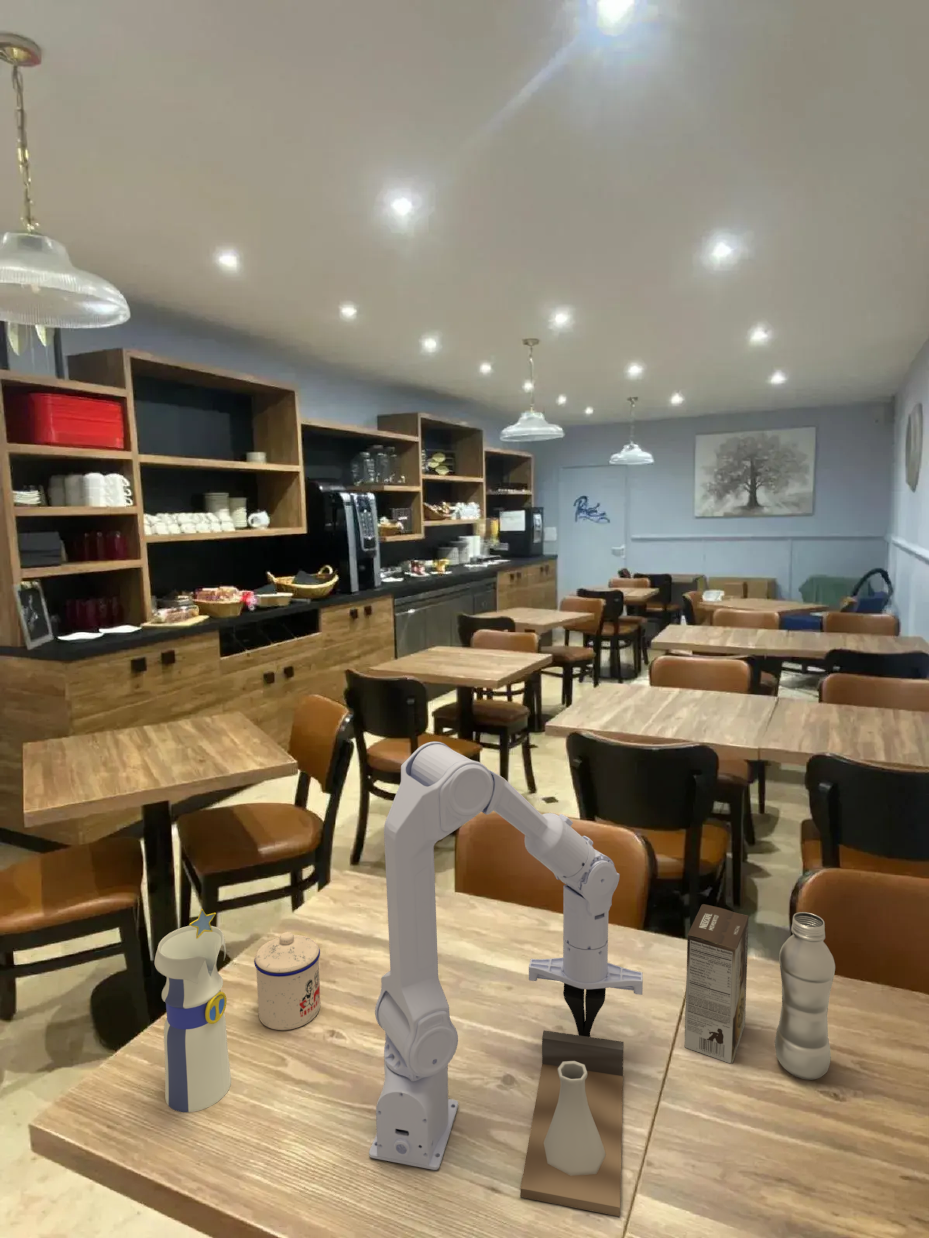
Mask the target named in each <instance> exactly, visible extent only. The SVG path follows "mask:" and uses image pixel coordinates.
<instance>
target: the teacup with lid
mask: <svg viewBox="0 0 929 1238" xmlns="http://www.w3.org/2000/svg"><path fill="white" fill-rule="evenodd" d="M320 957H321V949H320V947H319V944H318V942H316V941H315V940H314V939H313V938H311V937H309V936H305V935H301V934H294V933H293V932H291V931H285V932H283V933H281V934H280V935H279V936H278V937H276V938H273V939H270V940H269V941H267V942H265V943H264V944H262V945H261V946H260V947H259V949H258V950H257V952H256V953H255V956H254V961H253V962H254V967H255V968H256V984H257V985H256V988H257V989H256V990H257V1005H258V1006H257V1008H258V1009H257V1011H258V1018H259V1020H260V1022H261V1023H262V1024H263V1025H264V1026H265V1027H267V1028H269V1029H272V1030H277V1031H289V1030H294V1029H297V1028H299V1027H303V1026H304V1025H306V1024H308V1023H310V1022H311V1021H312V1020H314V1018H315V1017H316V1016H317V1015H318V1013H319V1011H320V1008H321V984H320V981H321V980H320V960H319V958H320Z"/></svg>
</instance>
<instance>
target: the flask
mask: <svg viewBox="0 0 929 1238" xmlns="http://www.w3.org/2000/svg"><path fill="white" fill-rule="evenodd" d="M558 1074H559V1077H560V1081H561V1087H560V1094H559V1100H558V1104H557V1107H556V1110H555V1113H554V1116H553V1119H552V1122H551V1125H550V1127H549V1130H548V1133H547V1135H546V1138H545V1140H544V1147H545V1152H546V1157H547V1163H548V1164H550V1165H551V1166H553V1167H555V1168H557V1169H559V1170H561V1171H563V1172H565V1173H567V1174H568V1175H570V1176H573V1175H589V1174H597V1172H598V1170H599V1168H600V1166H601V1164H602V1162H603V1160H604V1158H605V1156H606V1154H605V1150H604V1147H603V1144H602V1141H601V1138H600V1135H599V1132H598V1130H597V1127H596V1125H595V1122H594V1120H593V1117H592V1115H591V1112H590V1109H589V1106H588V1102H587V1097H586V1092H585V1079H586V1078H587V1070H586V1067H585V1065H584V1064H581V1063H579V1062H576V1061H565V1062H562V1063H561V1065H560V1066H559V1067H558Z"/></svg>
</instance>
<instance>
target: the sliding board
mask: <svg viewBox="0 0 929 1238" xmlns="http://www.w3.org/2000/svg"><path fill="white" fill-rule="evenodd" d="M624 1044H625V1043H624V1041H621V1040H620V1041H619V1040H614V1039H606V1038H600V1037H592V1036H590V1037H587V1036H580V1035H578V1034H573V1033H564V1032H557V1031H551V1030H545V1029H543V1031H542V1038H541V1067H540V1073H539V1074H540V1075H539V1079H538V1086H537V1089H536V1090H537V1092H536V1095H535V1102H534V1109H533V1112H532V1119H531V1126H530V1129H529V1130H530V1131H529V1137H528V1144H527V1149H526V1154H525V1161H524V1165H523V1170H522V1171H523V1172H522V1178H521V1182H520V1189H519V1190H520V1191H519V1193H520V1198H523V1199H529V1200H533V1201H535V1200H536V1201H538V1202H539V1201H540V1202H544V1203H549V1204H554V1205H559V1206H564V1207H568V1208H573V1209H574V1208H575V1209H579V1210H586V1211H590V1212H594V1213H595V1212H596V1213H600V1214H603V1215H604V1214H606V1215H610V1216H615V1217H621V1190H622V1189H621V1184H622V1183H621V1182H622V1181H621V1180H622V1139H623V1137H622V1136H623V1134H622V1133H623V1099H624V1098H623V1096H624V1095H623V1093H624V1092H623V1091H624V1090H623V1087H624V1086H623V1085H624ZM565 1061H576V1062H579V1063H581V1064H584V1065H585V1067H586V1070H587V1078H586V1079H585V1092H586V1097H587V1102H588V1106H589V1109H590V1112H591V1115H592V1117H593V1120H594V1122H595V1125H596V1127H597V1130H598V1132H599V1135H600V1138H601V1141H602V1144H603V1147H604V1150H605V1154H606V1156H605V1158H604V1160H603V1162H602V1164H601V1166H600V1168H599V1170H598V1172H597V1174H589V1175H573V1176H570V1175H568V1174H567V1173H565V1172H563V1171H561V1170H559V1169H557V1168H555V1167H553V1166H551V1165H550V1164H548V1163H547V1157H546V1152H545V1147H544V1140H545V1138H546V1135H547V1133H548V1130H549V1127H550V1125H551V1122H552V1119H553V1116H554V1113H555V1110H556V1107H557V1104H558V1100H559V1094H560V1087H561V1081H560V1077H559V1074H558V1067H559V1066H560V1065H561V1063H562V1062H565Z"/></svg>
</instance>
